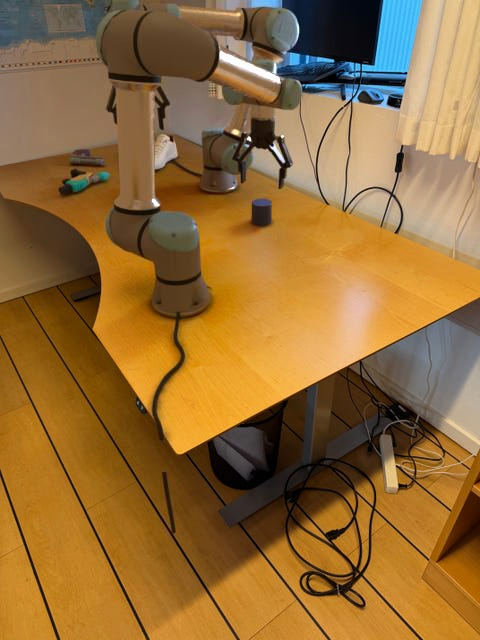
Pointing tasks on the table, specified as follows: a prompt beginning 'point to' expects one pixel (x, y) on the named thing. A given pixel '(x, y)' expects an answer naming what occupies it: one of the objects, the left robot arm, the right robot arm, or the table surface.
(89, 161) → the toy gun
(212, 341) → the table surface
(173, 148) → the sneaker
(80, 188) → the toy gun
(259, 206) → the cylinder
